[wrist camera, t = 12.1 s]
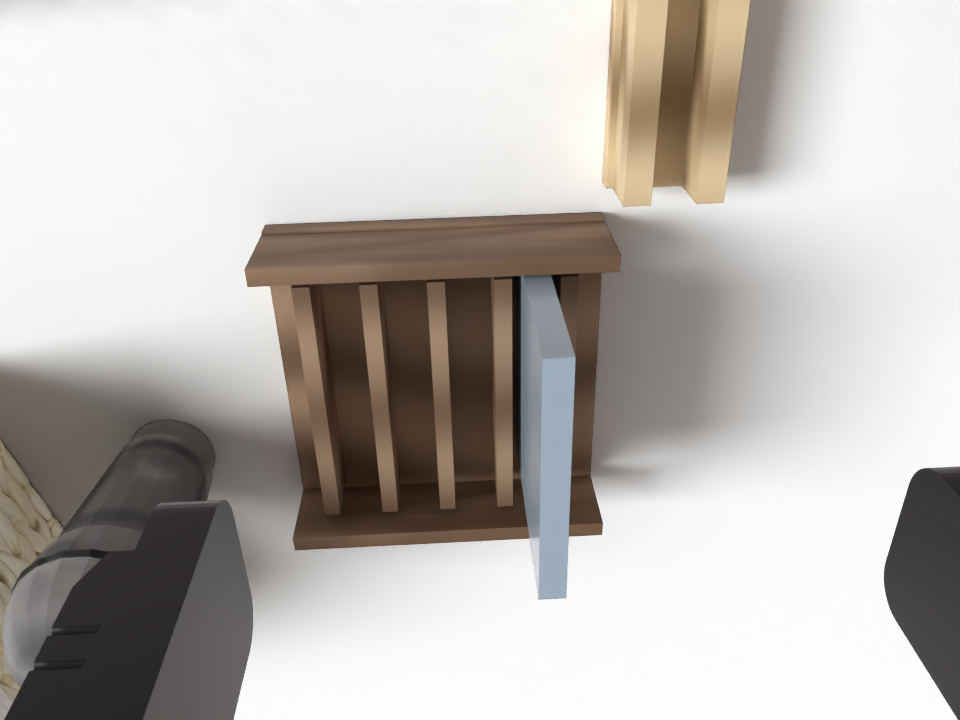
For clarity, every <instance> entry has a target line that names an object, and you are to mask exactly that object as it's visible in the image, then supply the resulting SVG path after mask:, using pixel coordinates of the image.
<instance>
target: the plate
mask: <svg viewBox="0 0 960 720" xmlns="http://www.w3.org/2000/svg"><path fill="white" fill-rule="evenodd" d="M575 359H576V357H575V354H574V350H573V347H572V344H571V340H570V337H569V334H568V330H567V327H566V324H565V320H564V317H563V313H562V310H561V307H560V303H559V300H558V297H557V293H556V290H555V287H554V283H553V280H552V277H551V275H529V276H516V431H517V455H518V462H519V469H520V476H521V483H522V490H523V496H524V503H525V510H526V517H527V524H528V531H529V538H530V544H531V551H532V558H533V565H534V572H535V579H536V586H537V593H538V599H539V600H540V599H559V598H566V590H567V565H568V539H569V513H570V488H571V462H572V436H573V411H574V385H575Z"/></svg>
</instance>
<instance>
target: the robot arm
mask: <svg viewBox="0 0 960 720" xmlns="http://www.w3.org/2000/svg"><path fill="white" fill-rule="evenodd" d="M884 585H885V592H886V597H887V601H888V604H889V607H890V609H891V612H892V614H893V616H894V618H895V620H896V621H897V623H898V625H899V626H900V628H901V629H902V631H903V633H904V634H905V636H906V637H907V639H908V641H909V642H910V644H911V645H912V647H913V648H914V650H915V652H916V653H917V655H918V656H919V658H920V660H921V661H922V663H923V664H924V666H925V668H926V669H927V671H928V672H929V674H930V676H931V677H932V679H933V680H934V682H935V684H936V685H937V687H938V688H939V690H940V692H941V693H942V695H943V696H944V698H945V700H946V701H947V703H948V704H949V706H950V708H951V709H952V711H953V712H954V714H955V716H956V717H957V719H958V720H960V467H942V468H924V469H921V470H919V471H917V472H916V473H915V474H914V476H913V477H912V479H911V481H910V484H909V487H908V490H907V493H906V497H905V500H904V503H903V507H902V510H901V513H900V517H899V520H898V523H897V526H896V530H895V533H894V536H893V540H892V543H891V546H890V550H889V553H888V556H887V560H886V563H885V569H884ZM252 630H253V607H252V597H251V592H250V587H249V583H248V578H247V574H246V569H245V565H244V561H243V556H242V552H241V547H240V543H239V538H238V534H237V529H236V525H235V520H234V516H233V512H232V509H231V506H230V505H229V503H228V502H227V501H226V500H215V501H194V502H173V503H160V504H158V505H157V506H156V507H155V508H154V509H153V511H152V513H151V515H150V517H149V519H148V522H147V524H146V526H145V528H144V530H143V533H142V535H141V537H140V539H139V542H138V544H137V546H136V548H135V550H128V551H109V552H108V553H107V554H106V555H105V556H104V557H103V558H102V559H101V560H100V561H99V562H98V563H97V564H96V565H95V566H94V567H93V568H92V569H90V570H89V571H88V572H87V573H86V574H85V575H84V576H83V577H82V578H81V579H80V580H79V581H78V582H77V583H76V584H75V585H74V586H73V587H72V589H71V591H70V593H69V595H68V597H67V599H66V601H65V602H64V604H63V606H62V608H61V610H60V612H59V614H58V616H57V618H56V620H55V622H54V624H53V626H52V634H51V636H47V637H46V639H45V641H44V643H43V645H42V647H41V649H40V651H39V653H38V655H37V657H36V659H35V661H34V669H33V671H29V672H28V674H27V676H26V678H25V680H24V682H23V684H22V686H21V688H20V690H19V692H18V694H17V696H16V698H15V700H14V702H13V703H12V705H11V707H10V709H9V711H8V713H7V715H6V717H5V719H4V720H233V719H234V715H235V710H236V706H237V702H238V698H239V694H240V690H241V685H242V681H243V677H244V673H245V669H246V665H247V661H248V656H249V652H250V647H251V641H252Z"/></svg>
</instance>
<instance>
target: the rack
mask: <svg viewBox="0 0 960 720" xmlns="http://www.w3.org/2000/svg"><path fill="white" fill-rule="evenodd" d="M620 263H621V254H620V252H619V250H618V248H617V246H616V244H615V242H614V240H613V238H612V236H611V234H610V232H609V230H608V228H607V226H606V224H605V222H604V218H603V216H602V214H601V212H592V213H566V214H540V215H514V216H488V217H462V218H435V219H409V220H383V221H357V222H331V223H305V224H279V225H265V227H264V229H263V231H262V235H261V237H260V239H259V241H258V243H257V245H256V247H255V249H254V252H253V254H252V256H251V258H250V260H249V262H248V264H247V266H246V268H245V275H246V280H247V286H248V287H257V286H270V288H271V294H272V300H273V306H274V312H275V318H276V324H277V330H278V336H279V343H280V349H281V355H282V361H283V367H284V373H285V379H286V385H287V391H288V397H289V403H290V409H291V415H292V421H293V427H294V434H295V440H296V446H297V452H298V458H299V464H300V470H301V476H302V482H303V488H304V490H303V494H302V499H301V504H300V508H299V513H298V517H297V522H296V527H295V531H294V536H293V542H294V547H295V550H308V549H328V548H348V547H368V546H388V545H408V544H428V543H448V542H468V541H488V540H508V539H528V538H529V531H528V524H527V517H526V510H525V503H524V496H523V490H522V483H521V476H520V469H519V462H518V455H517V431H516V276H529V275H551V277H552V280H553V283H554V287H555V290H556V293H557V297H558V300H559V303H560V307H561V310H562V313H563V317H564V320H565V324H566V327H567V330H568V334H569V337H570V340H571V344H572V347H573V350H574V354H575V357H576V359H575V385H574V411H573V436H572V462H571V488H570V513H569V536H588V535H602V527H603V522H602V518H601V514H600V511H599V507H598V503H597V499H596V495H595V492H594V488H593V484H592V480H591V476H590V470H591V452H592V434H593V416H594V398H595V380H596V362H597V345H598V327H599V309H600V291H601V273H603V272H620Z"/></svg>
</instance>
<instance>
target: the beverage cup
mask: <svg viewBox="0 0 960 720" xmlns="http://www.w3.org/2000/svg"><path fill="white" fill-rule="evenodd" d="M214 461H215V453H214V449H213V446H212V444H211V443H210V441H209V440H208V438H207V437H206V436H205V435H204V434H203V433H202V432H201V431H199V430H198V429H197V428H195V427H193V426H191V425H189V424H187V423H185V422H180V421H175V420H157V421H154V422H152V423H149V424H146V425H145V426H143V427H142V428H141V429H139V430H138V431H137V432H136V434H135V436H134V437H133V438H132V439H131V441H130V442H129V443H128V444H127V445H126V446H124V448H123V449H122V450H121V452H120V453H119V455H118V456H117V457H116V459H115V460H114V461H113V463H112V464H111V465H110V467H109V468H108V470H107V471H106V472H105V474H104V475H103V476H102V478H101V479H100V480H99V482H98V483H97V485H96V486H95V487H94V489H93V490H92V491H91V493H90V494H89V496H88V497H87V498H86V500H85V501H84V502H83V504H82V505H81V506H80V508H79V509H78V511H77V512H76V513H75V515H74V516H73V517H72V519H71V520H70V521H69V523H68V524H67V526H66V527H65V528H64V530H63V531H62V532H61V534H60V535H59V536H58V538H57V539H56V540H54V541H53V542H52V543H50V544H49V545H48V546H47V547H46V548H45V549H44V550H43V551H42V552H41V554H40V555H39V556H38V557H37V558H36V559H35V560H34V561H33V563H32V564H31V565H30V566H28V567H27V568H26V569H24V570H23V571H22V572H21V573H20V575H19V577H18V579H17V581H16V582H15V584H14V586H13V588H12V591H11V596H10V602H9V604H8V606H7V608H6V612H5V616H4V620H3V654H4V659H5V661H6V664H7V666H8V668H9V670H10V672H11V675H12V677H13V679H14V681H15V682H16V683H17V685H18V686H19V687H20V688H21V686H22V684H23V682H24V680H25V678H26V676H27V674H28V672H29V671H33V669H34V661H35V659H36V657H37V655H38V653H39V651H40V649H41V647H42V645H43V643H44V641H45V639H46V637H47V636H51V634H52V626H53V624H54V622H55V620H56V618H57V616H58V614H59V612H60V610H61V608H62V606H63V604H64V602H65V601H66V599H67V597H68V595H69V593H70V591H71V589H72V587H73V586H74V585H75V584H76V583H77V582H78V581H79V580H80V579H81V578H82V577H83V576H84V575H85V574H86V573H87V572H88V571H89V570H90V569H92V568H93V567H94V566H95V565H96V564H97V563H98V562H99V561H100V560H101V559H102V558H103V557H104V556H105V555H106V554H107V553H108V552H109V551H128V550H135V548H136V546H137V544H138V542H139V539H140V537H141V535H142V533H143V530H144V528H145V526H146V524H147V522H148V519H149V517H150V515H151V513H152V511H153V509H154V508H155V507H156V506H157V505H158V504H160V503H173V502H194V501H207V498H208V494H209V490H210V486H211V480H212V469H213V467H214Z"/></svg>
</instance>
